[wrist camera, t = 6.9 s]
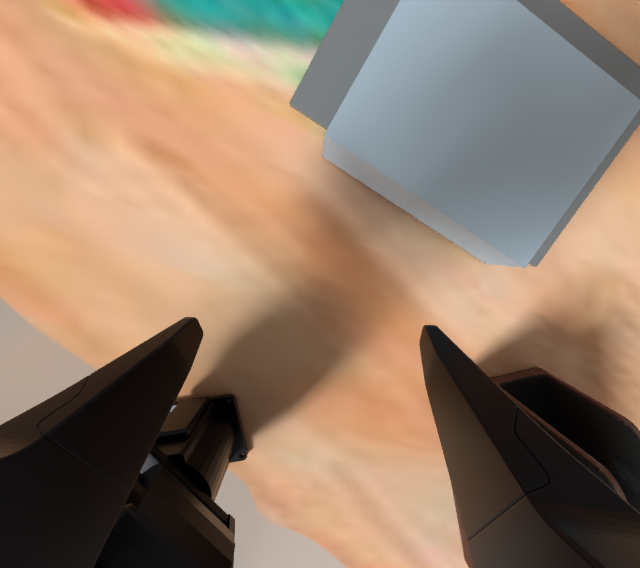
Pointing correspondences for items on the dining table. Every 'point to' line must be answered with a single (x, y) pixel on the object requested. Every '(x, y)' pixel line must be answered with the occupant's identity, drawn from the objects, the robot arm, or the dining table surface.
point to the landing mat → (370, 20)
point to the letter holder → (576, 432)
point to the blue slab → (478, 123)
